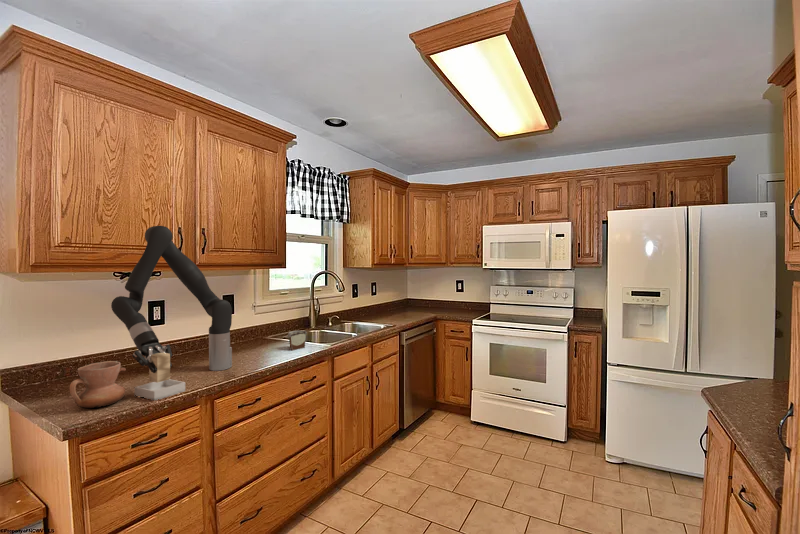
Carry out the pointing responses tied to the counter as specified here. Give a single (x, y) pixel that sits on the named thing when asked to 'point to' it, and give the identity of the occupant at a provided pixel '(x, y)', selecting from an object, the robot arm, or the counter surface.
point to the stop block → (160, 367)
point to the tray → (160, 389)
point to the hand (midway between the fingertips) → (162, 369)
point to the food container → (297, 339)
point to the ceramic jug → (98, 385)
